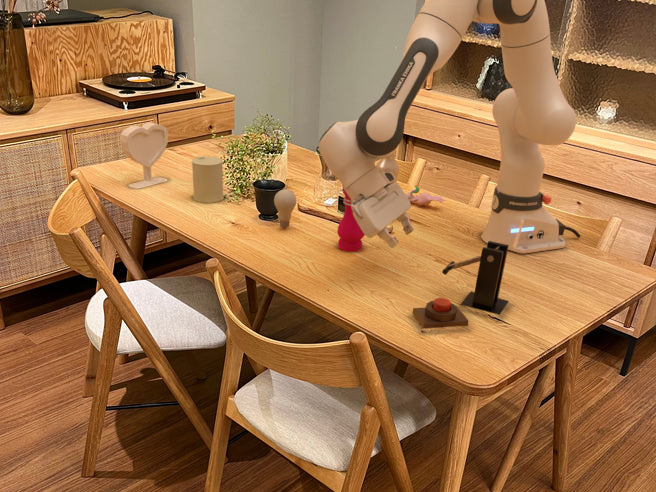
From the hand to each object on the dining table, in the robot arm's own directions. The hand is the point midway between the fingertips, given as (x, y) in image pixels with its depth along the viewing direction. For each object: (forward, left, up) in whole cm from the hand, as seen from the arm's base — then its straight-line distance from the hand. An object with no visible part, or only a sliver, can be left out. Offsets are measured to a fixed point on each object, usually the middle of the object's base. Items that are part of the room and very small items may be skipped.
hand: (403, 239), depth 161 cm
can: (+40, -66, -12) cm, 78 cm away
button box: (-3, +19, -12) cm, 23 cm away
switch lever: (-13, +11, -2) cm, 17 cm away
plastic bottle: (-9, -44, -12) cm, 46 cm away
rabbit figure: (-24, -54, -12) cm, 60 cm away
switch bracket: (-16, +13, -12) cm, 24 cm away
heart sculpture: (+58, -82, -12) cm, 101 cm away
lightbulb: (+21, -39, -12) cm, 45 cm away
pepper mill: (+6, -24, -12) cm, 27 cm away
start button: (-3, +19, -8) cm, 21 cm away
